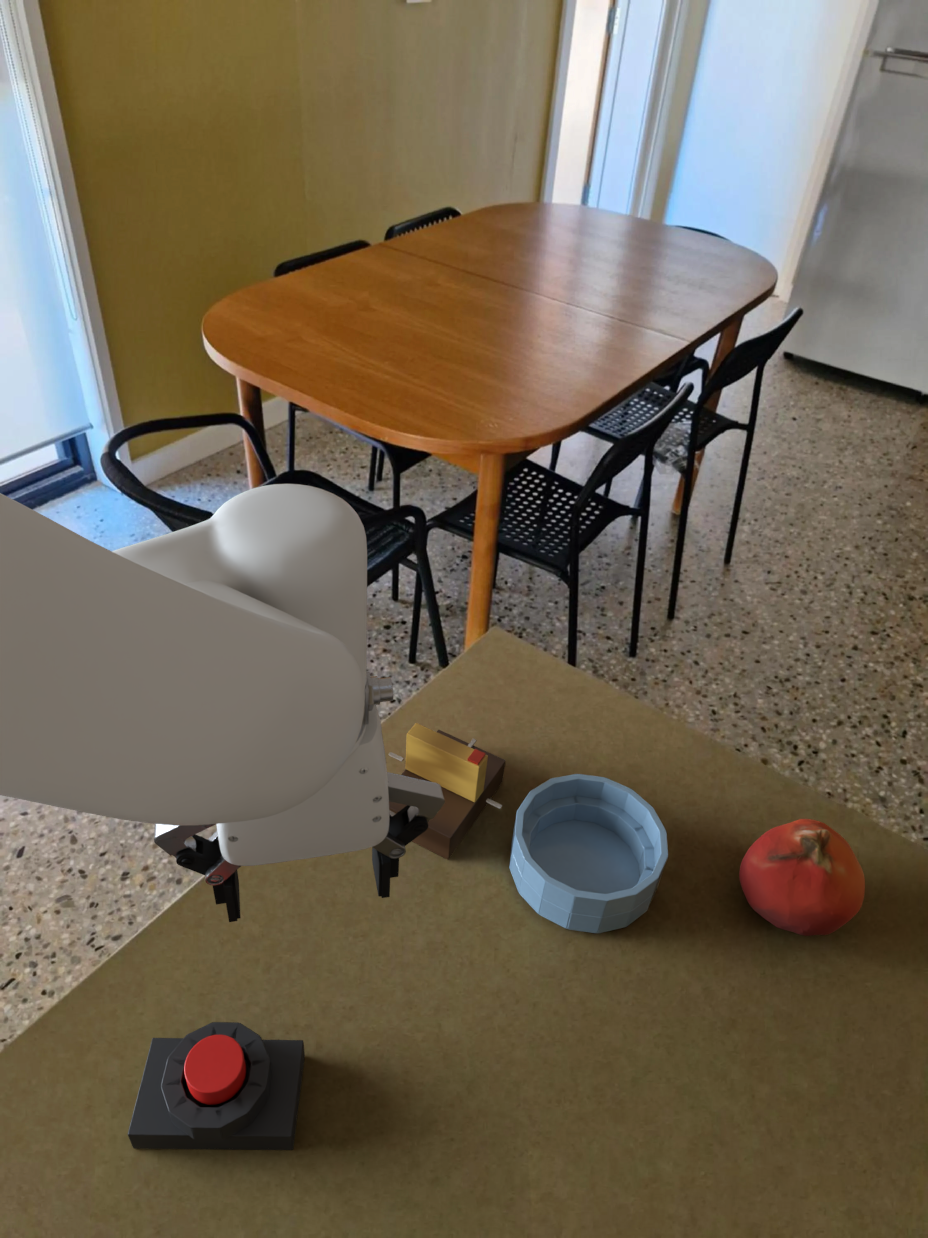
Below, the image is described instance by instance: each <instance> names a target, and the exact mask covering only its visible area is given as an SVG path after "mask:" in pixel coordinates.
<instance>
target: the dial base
mask: <svg viewBox="0 0 928 1238" xmlns="http://www.w3.org/2000/svg"><path fill="white" fill-rule="evenodd" d="M436 732H438V733H440V734H442V735H444V736H446V737H449V738H451V739H453V740H455V741H457V742H460V743H462V744H464V745H466V746H468V747H470V748H473V749H477V750H479V751H481V752H483V753H485V754H486V755H488V759H487V767H486V775H485V783H484V791H483V792H482V794H481V795H480V796H479V798H478V799H477V801H476V802H472V801H470V800H468V799H466V798H464V797H462V796H460V795H458V794H456V793H454V792H452V791H450V790H448V789H446V788H443V787H441V788H442V792H443V796H444V799H445V803H444V805H443V806H442V807H441V809H440V810H439V811H438V813H437V814H436V815H435V816H434V818H433V819H430V820H429V822H428V829H427V830H426V831H425V832H423V833H422V834H421V835H419V836H418V837H417V838H415V839H414V840H413V841H411V843H415V844H416V845H419V847H422V848H424V849H425V850H428V851H430V852H432V853H433V854H435V855H438V856H440V857H441V858H443V859H445V860H447V861H448V860H450V858H451V857H452V856H453V855H454V853H455V852H456V850H457V849H458V847H459V846H460V845H461V843H462V841H463V840H464V838H465V837H466V836H467V834H468V833H469V832H470V830H471V828H472V827H473V825H474V824H475V822H476V821H477V820H478V818H479V817H480V816H481V814H482V812H483V811H484V810H485V808H486V807H487V805H488V804H489V805H491V806H493V807H495V808H497V809H499V810H501V809H502V807H503V804H501V803H499V802H497V801H494V799H493V800H492V798H493V797H494V795H495V794H496V792H497V791H498V790H499V788H500V787H501V786H502V784H503V782H504V776H505V774H504V773H505V768H506V759H504V758H502V757H500V756H497V755H495V754H493V753H491V752H489V751H487V750H485V749H482V748H481V747H478V746H476V745H475V744H476V742H477V740H478V739H476V738H472V739H471V741H469V742H467V741H465V740H463V739H461V738H459V737H456V736H454V735H452V734H449V733H447V732H445V731H443V730H441V729H437V730H436ZM388 756H389V757H391V758H394V759H395V760H397V761H399V762H403V761H404V760H405V757H402V756H401V755H398V754H396V753H394V752H392V751H390V752H389V753H388ZM400 775H403V776H407V777H411V778H416V779H420V780H425V781H429V780H427V779H425V778H423V777H421V776H419V775H417V774H414V773H412V772H410V771H408V770H406V769H405V768H404V770H403V772H402V773H400ZM429 782H431V781H429ZM405 806H407V805H405V804H400V803H395V802H390V801H389V810H391V811H392V812H394V813H395V814H396V813H398V812H399V811H400V810H402V809H403V808H404V807H405Z"/></svg>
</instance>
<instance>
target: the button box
mask: <svg viewBox="0 0 928 1238" xmlns="http://www.w3.org/2000/svg"><path fill="white" fill-rule="evenodd" d="M212 1035H226V1036H229V1037H231V1038H233V1039H235V1040H236V1041H237V1042H238V1043H239V1045H240V1046H241V1048H242V1051H243V1054H244V1060H245V1065H246V1076H245V1080H244V1082H243V1084H242V1086H241V1088H240V1090H239V1091H238V1092H237V1093H236V1094H235V1095H234V1096H233V1097H232V1098H230V1099H229V1100H227V1101H225V1102H223V1103H220V1104H216V1105H207V1104H203V1103H201V1102H199V1101H197V1100H196V1099H195V1098H194V1097H193V1096H192V1095H191V1093H190V1091H189V1089H188V1085H187V1082H186V1078H185V1075H184V1065H185V1061H186V1058H187V1055H188V1054H189V1052H190V1051H191V1049H192V1048H193V1047H194V1046H195V1045H196V1044H197V1043H198V1042H199V1041H201V1040H202V1039H204V1038H206V1037H209V1036H212ZM304 1043H305V1042H304V1040H303V1039H262V1036H261V1035H260V1034H258V1033H257V1032H255V1031H253V1030H252V1029H250V1028H248V1027H247V1026H245V1025H244V1024H243V1023H241V1022H237V1021H236V1022H229V1021H212V1022H210V1023H208V1024H206V1025H204V1026H201V1027H199V1028H198V1029H195V1030H193V1031H191V1032H190V1033H187V1034H186V1035H185V1036H184V1037H152V1038H151V1041H150V1045H149V1050H148V1053H147V1057H146V1061H145V1065H144V1069H143V1074H142V1075H141V1076H142V1077H141V1080H140V1086H139V1089H138V1092H137V1096H136V1100H135V1104H134V1107H133V1111H132V1115H131V1120H130V1123H129V1126H128V1131H127V1137H128V1139H129V1142H130V1143H131V1147H132V1148H133V1149H135V1150H137V1149H138V1150H223V1151H225V1150H226V1151H227V1150H228V1151H229V1150H232V1151H235V1150H236V1151H241V1150H242V1151H293V1150H294V1149H295V1138H296V1131H297V1122H298V1115H299V1107H300V1099H301V1091H302V1083H303V1082H302V1081H303V1073H304V1066H305V1065H304V1064H305V1057H306V1055H305V1044H304Z"/></svg>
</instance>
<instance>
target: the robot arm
mask: <svg viewBox="0 0 928 1238" xmlns="http://www.w3.org/2000/svg"><path fill="white" fill-rule="evenodd" d="M364 526H365V525H364V524H363V522H362V520H361V518H360V516H359V514H358V513H357V512H356V511H355V509H354V508H353V507H352V506H351V505H350V504H349V503H348V502H347V501H346V500H345V499H343V498H342V497H340V496H338V495H336V494H335V493H332V492H330V491H328V490H326V489H323V488H320V487H316V486H312V485H306V484H300V483H273V484H267V485H262V486H261V485H260V486H258V487H253V488H250V489H248V490H245V491H242V492H241V493H238V494H236V495H235V496H233V497H231V498H230V499H228V500H227V501H225V502H223V504H221V505H220V506H219V508H217V510H216V511H215V512H214V513H213V515H212V516H210V518H207V519H206V520H204V521H201V522H198V523H195V524H193V525H190V526H187V527H184V528H181V529H177V530H175V531H171V532H169V533H165V534H162V535H158V536H156V537H152V538H150V539H146V540H142V541H140V542H136V543H134V544H129V545H126V546H123V547H120V548H117V549H114V550H111V549H108V548H106V547H103V546H102V545H100V544H98V543H95V542H94V541H92V540H90V539H88V538H85V537H84V536H82V535H80V534H79V533H77V532H75V531H73V530H71V529H69V528H68V527H66V526H63V525H62V524H60V523H59V522H56V521H55V520H52V519H51V518H49V517H47V516H45V515H43V514H41V513H40V512H38V511H36V510H34V509H32V508H30V507H29V506H27V505H24V504H22V503H21V502H18V501H17V500H15V499H13V498H11V497H10V496H7V495H5V494H3V493H1V492H0V796H2V797H7V798H12V799H16V800H22V801H26V802H27V801H28V802H33V803H37V804H41V805H46V806H52V807H55V808H60V809H61V808H62V809H66V810H71V811H76V812H80V813H85V814H90V815H96V816H101V817H106V818H111V819H117V820H124V821H131V822H138V823H146V824H154V830H153V831H154V832H153V843H154V844H155V845H156V846H158V847H159V848H160V849H162V850H163V851H164V852H165V853H166V854H168V855H169V856H171V857H172V856H173V857H174V858H175V861H176V864H177V866H179V867H182V868H185V869H187V870H190V871H192V872H195V873H198V874H200V875H203V876H205V877H204V881H205V883H206V884H207V885H209V886H212V890H213V896H214V902H215V905H223V904H225V905H226V906H225V907H226V912H227V918H228V919H227V920H228V923H232V922H234V923H235V922H238V920H240V919H241V899H240V898H241V897H240V878H239V873H238V870H239V869H240V868H241V867H253V866H254V867H255V866H262V865H270V864H278V863H287V862H292V861H300V860H307V859H313V858H321V857H327V856H334V855H340V854H347V853H352V852H353V853H354V852H358V851H363V850H367V849H370V848H371V863H372V869H373V875H374V879H375V885H376V889H377V890H376V891H377V897H381V899H385V898H391V897H390V895H391V879H393V878H398V877H399V869H400V858H402V857H404V856H405V855H406V852H407V850H406V847H407V845H409V844H410V843H412V841H413V840H414V839H415V838H417V837H418V836H419V835H421V834H422V833H423V832H425V831H426V830H427V829H428V822H429V820H430V819H433V818H434V816H435V815H436V814H437V813H438V811H439V810H440V809H441V807H442V806H443V805H444V803H445V799H444V796H443V792H442V788H441V785H440V784H438V783H434V782H429V781H425V780H420V779H416V778H411V777H407V776H403V775H401V774H397V773H394V772H389V771H388V766H387V758H386V750H385V749H386V748H385V745H384V744H385V743H384V738H383V731H382V730H383V729H382V723H381V722H382V721H381V718H380V713H379V710H378V707H377V706H380V705H381V703H386V702H392V701H394V686H393V680H392V677H391V676H387V677H378V676H377V675H375V676H373V675H372V676H371V671H368V670H367V669H368V668H367V667H368V666H367V665H368V664H367V661H368V660H367V659H368V658H367V657H368V656H367V655H368V653H367V652H368V651H367V650H368V645H367V644H368V545H367V543H368V542H367V535H366V530H365V527H364ZM389 801H390V802H395V803H400V804H405V805H407V806H405V807H404V808H403V809H402V810H400V811H399V812H398V813H396V814H395V813H394V812H392V811H391V810H389ZM213 826H216V831H214V832H213V833H212V834H211V836H209V837H208V839H207V838H205V837H203V836H200V835H198V834H199V833H201V832H203V831H205V830H207V829H209V828H212V827H213Z"/></svg>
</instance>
